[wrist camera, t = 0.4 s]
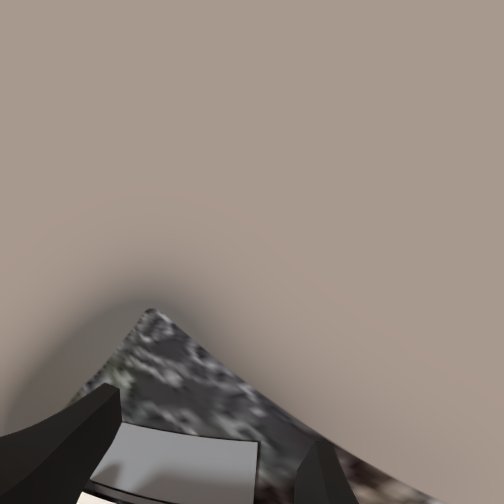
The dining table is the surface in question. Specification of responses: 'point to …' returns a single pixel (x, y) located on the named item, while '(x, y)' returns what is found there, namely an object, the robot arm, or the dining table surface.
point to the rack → (114, 494)
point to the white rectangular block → (91, 499)
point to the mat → (179, 467)
